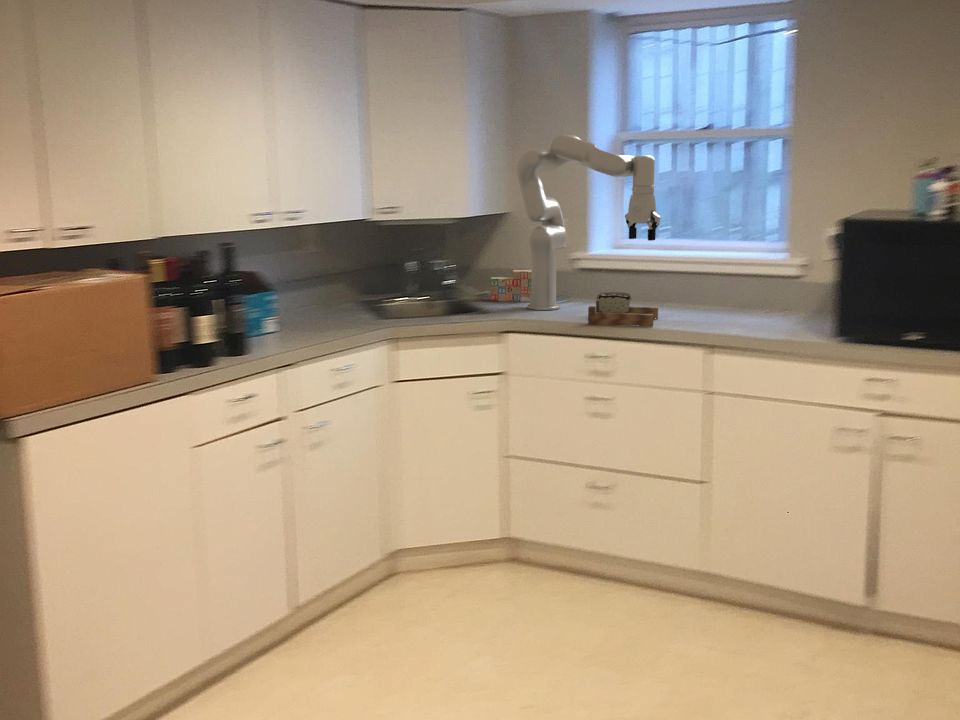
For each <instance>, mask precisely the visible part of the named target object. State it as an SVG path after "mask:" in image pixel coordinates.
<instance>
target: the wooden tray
mask: <svg viewBox="0 0 960 720" xmlns="http://www.w3.org/2000/svg"><path fill="white" fill-rule="evenodd" d="M587 310H588V313H587V315H588V316H587V318H588V319H587V325H588V326H589V325H590V326H594V325H595V326H596V325H597V326H619V325H639V326H638V327H647V326H653V327H654V319H653V318H656V319H655V320H658V319H659V307H658V306H635V305H634V306H633V305H632V306H631V305H629V312H628V313H602V312H600V311H599V300H598V299H596V301H595V306H594V305H590V306H589V307H588V309H587Z"/></svg>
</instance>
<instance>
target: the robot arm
mask: <svg viewBox="0 0 960 720" xmlns="http://www.w3.org/2000/svg"><path fill="white" fill-rule="evenodd" d="M569 162H571V163H576V164H578V165H581V166H584V167H586V168H588V169H590V170H593V171H595V172H599V173H601V174H605V175H607V176H611V177H615V178H618V177H620V178H621V177H626V178H627V177H632V188H631V191H632V192H631V193H632V194H630V198H629V202H628V203H629V204H628V210H627V211H628V212H627V213H625V214H624V218H625V219H624V220H625V223H626V224H627V228H628V239H629V240H634V239H637V233H638V232H637V231H638V230H637V225H638V224H641V225H642V224H643V225H644V224H646V225H647V227H648V229H647V241H655V240H656V232H657V231H656V230H657V229H658V226H659V225H660V223H661V222H660V221H661V220H662V217H661V216H660V215H659V214H658V213H657V207H656V206H657V205H656V198H655V197H656V196H655V194H654V193H655V192H654V191H655V164H656V163H655V157H654V156H653V155H636V156H635V155H630V154H629V155H628V154H626V155H625V154H614V153H611V152H608V151H605V150H601V149H600V148H598V147H597V145H596V143H593V142H590V141H587V140H583V139H581V138H580V137H578V136H577V135H574V134H561V133H560V134H558V135H556V136H554V138H553V139H552V140H551V142H550V147H548V148H532V149H529V150H527V151H525V152H524V153H523V154H521V156H520V157H519V159H518V161H517V163H516V177H517V180H518V185H519V187H520V191H521V197H522V202H523V205H524V211H525V214H526V217H527V218H528V220H529V221H531V222H533V223H541V225H538V226H536V227H534V228H533V229H532V230H531V232H530V233H529V237H528V243H529V244H528V245H529V250H530V259H531V261H530V264H531V265H530V268H531V269H530V270H531V296H530V297H529V298H526V297H521V298H520V301H519V302H520V303H528V304H527V306H526V307H527V309H529V310H534V311H552V310H554V311H555V310H559V309H560V308H561V305H560V304H558V303H557V257H556V253H555V250H556V249H560V248H561V247H563V246H564V245H565V244H566V242H567V228H566V224H565V220H564V217H563V213H562V212H563V211H562V208H561V206H560V204H559V202H558V201H557V200H556V198H554V197H552V196H546V193H545V188H544V184H543V181H542V180H541V178H540V176H539V173H548V172H552V171H553V172H554V171H555V170H557V169H559V168H561V167H562V166H565V165H566V164H567V163H569Z"/></svg>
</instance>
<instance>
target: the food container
mask: <svg viewBox="0 0 960 720" xmlns="http://www.w3.org/2000/svg"><path fill="white" fill-rule="evenodd" d="M596 300H599V311H600V312H602V313H628V312H629V306H630V304H631V303H630V302H631V301H632V300H633V298H632V295H631V293H628V292H625V291H624V292H621V291H605V292H604V291H603V292H598V293H597V296H596Z"/></svg>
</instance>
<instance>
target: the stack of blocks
mask: <svg viewBox="0 0 960 720" xmlns="http://www.w3.org/2000/svg"><path fill="white" fill-rule="evenodd" d="M530 296H531V269H513V270H512V277H510V276H508V277H506V276H501V277H500V276H491V278H490V301H491V302H514V301H513V300H520V298H521V297H526V298H529V297H530ZM510 300H512V301H510Z"/></svg>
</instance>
